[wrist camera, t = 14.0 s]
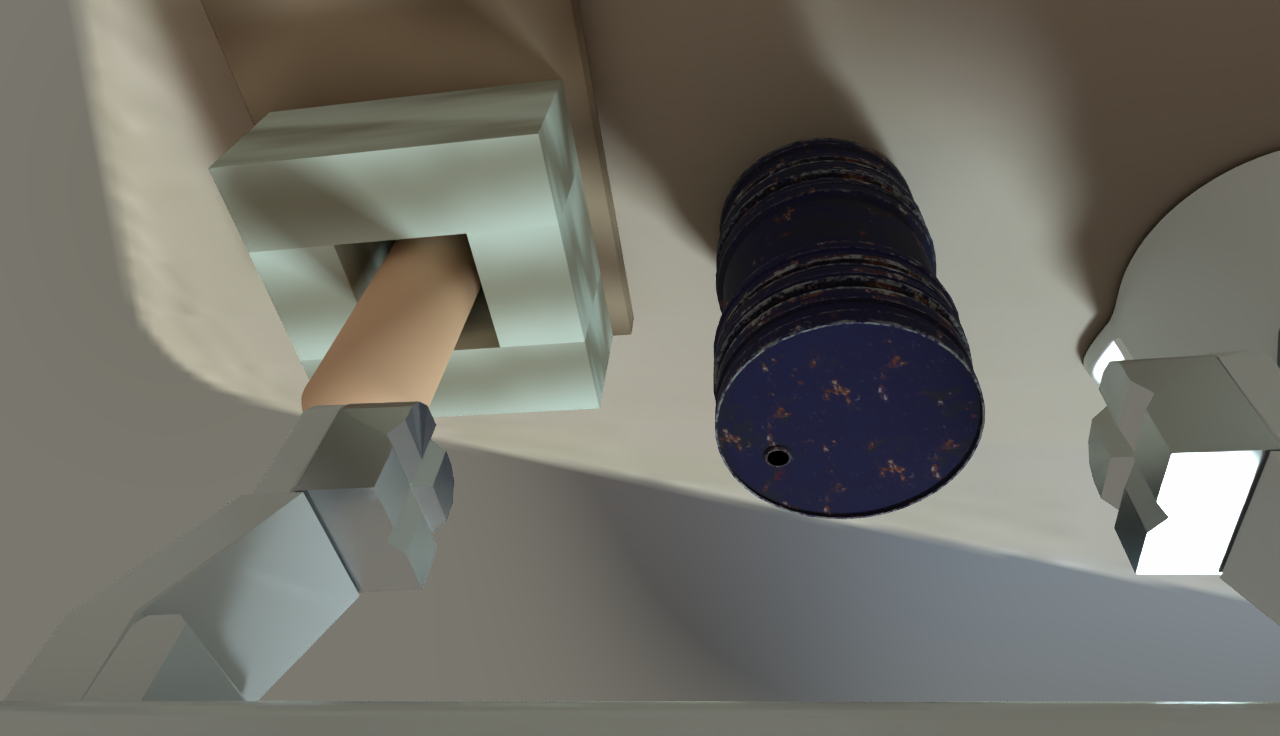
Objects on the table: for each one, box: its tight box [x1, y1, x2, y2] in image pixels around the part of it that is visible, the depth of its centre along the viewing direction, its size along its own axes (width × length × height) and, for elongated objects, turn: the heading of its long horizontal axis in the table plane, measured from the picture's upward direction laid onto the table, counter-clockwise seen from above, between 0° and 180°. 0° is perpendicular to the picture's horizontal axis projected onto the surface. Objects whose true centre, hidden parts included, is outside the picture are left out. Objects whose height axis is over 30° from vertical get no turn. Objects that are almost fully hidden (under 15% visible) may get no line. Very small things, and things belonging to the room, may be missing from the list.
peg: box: [302, 234, 482, 411], centre depth 38 cm, size 4×4×14 cm
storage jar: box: [714, 138, 985, 519], centre depth 37 cm, size 10×10×15 cm
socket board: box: [201, 0, 634, 417], centre depth 39 cm, size 24×16×8 cm, turn 8°
